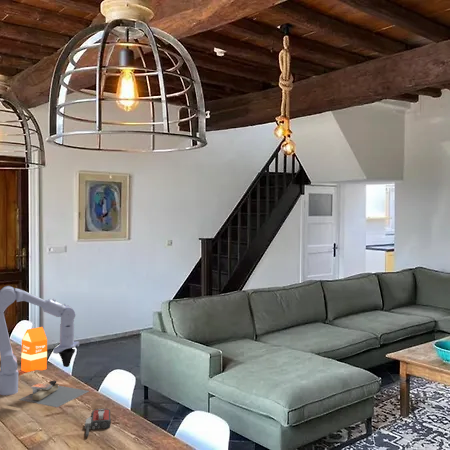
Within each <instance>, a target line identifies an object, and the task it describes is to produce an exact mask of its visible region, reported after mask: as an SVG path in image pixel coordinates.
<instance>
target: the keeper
mask: <svg viewBox="0 0 450 450" xmlns="http://www.w3.org/2000/svg"><path fill="white" fill-rule="evenodd" d="M51 387H52V385H50V383H49V384H48V383H35V384H34V385H31V388H30V389H32V394H35V393H37V392H38V391H40V390H48V389H50V388H51Z"/></svg>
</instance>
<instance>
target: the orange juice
mask: <svg viewBox="0 0 450 450" xmlns="http://www.w3.org/2000/svg"><path fill="white" fill-rule="evenodd" d="M20 363H21V364H20V365H21V366H20V367H21V368H20V370H21V371H22V372H24V373H30V372H33V371H44V370H47V366H48V365H47V363H48V338H47V336H46V332H45V330H44V328H43V326H39V327H34V328H29V329H26V331H25V333H24V335H23V337H22V339H21V359H20Z"/></svg>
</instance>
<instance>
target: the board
mask: <svg viewBox="0 0 450 450" xmlns="http://www.w3.org/2000/svg"><path fill="white" fill-rule="evenodd" d="M87 393H90V390H86V389H79V388H73V387H68V386H62V385H58V389H57V390H56V391H54V392H53V393H51V394H49V395H48V396H46V397H44V398H43V399H41V400H40V401H38V400H32V397H33V393H31V394H28V395H26V396H23V397H21V398H19V399H18V401H23V402H28V403H33V404H38V405H42V406H49V407H54V408H59V407H61V406H63V405H64V404H66V403H68V402H71V401H73V400H75V399H77V398H79V397H81V396H83V395H85V394H87Z"/></svg>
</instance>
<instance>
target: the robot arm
mask: <svg viewBox="0 0 450 450" xmlns="http://www.w3.org/2000/svg"><path fill="white" fill-rule="evenodd" d="M15 301H16V303H19V302H27V303H30V304H32V305H35V306H37V307H40V308H41V309H42V310H43V312H44V313H47V314H48V315H52V316H54V317H56V318H60V325H59V345H58V346H56V347H54V348H53V351H52V352H53V354H56V355H57V354H58V355H59V356H60V358H61V362H62V365H63V368H64V367H65V368H69V367H70V364H71V361H72V358H73V356H74V354H75V352H76V347H79V346H80V341H78V340H77V341H76V340H75V323H74V322H75V318H76V312H75V310H74V309H73V308H72V307H71V306H69V305H67V304H66V303H61V302H58V301H56V299H55V298H52V299H51V298H49V299H46V300H45V299H43V298H41V297H39V296H37V295H34V294H32V293H30V292H28V291H25V290H24V289H21V288H16V287H15V288H14V287H13V286H11V285H6V286H4V287H2V288H0V395H1V396H12V395H16V394H17V393H18V392H19V370H18V358H17V356H16V355H15V354H14V351H13V348H12V345H11V340H10V335H9V332H8V331H9V330H8V327H7V326H8V325H7V323H6V317H5V311H6V309H7V308H8V307H9V306H11V305H12V304H13V303H15Z"/></svg>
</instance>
